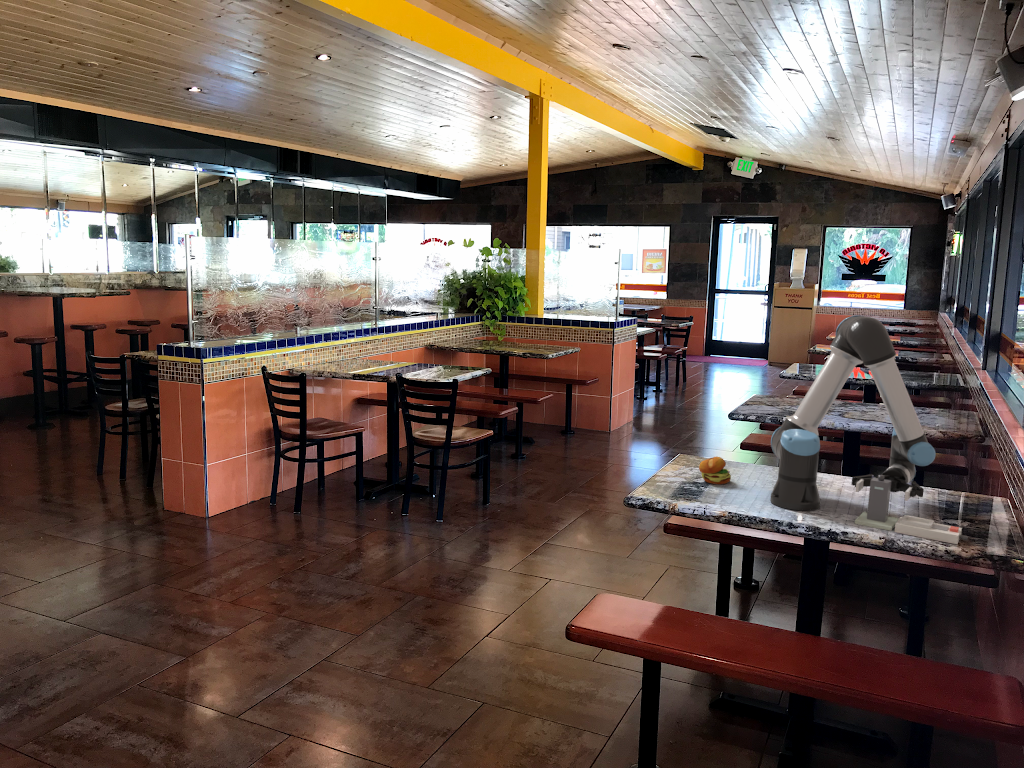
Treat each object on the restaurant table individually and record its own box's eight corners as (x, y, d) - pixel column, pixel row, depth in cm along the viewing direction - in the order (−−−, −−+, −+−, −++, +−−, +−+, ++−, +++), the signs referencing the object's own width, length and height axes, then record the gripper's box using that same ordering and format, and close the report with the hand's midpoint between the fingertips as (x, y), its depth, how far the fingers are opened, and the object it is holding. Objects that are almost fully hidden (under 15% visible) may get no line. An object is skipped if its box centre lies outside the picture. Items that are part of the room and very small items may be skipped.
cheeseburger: (738, 484, 276) (734, 457, 274) (710, 492, 274) (706, 465, 272) (723, 476, 286) (719, 450, 284) (697, 484, 284) (692, 458, 282)
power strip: (894, 532, 229) (895, 520, 228) (900, 524, 236) (901, 513, 236) (965, 545, 219) (966, 533, 218) (968, 537, 226) (970, 526, 225)
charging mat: (854, 523, 235) (854, 520, 235) (863, 514, 245) (863, 511, 245) (891, 530, 230) (891, 527, 230) (898, 521, 239) (898, 518, 239)
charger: (866, 519, 237) (871, 475, 235) (869, 516, 240) (873, 472, 239) (884, 522, 234) (889, 478, 232) (887, 519, 238) (891, 475, 236)
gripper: (937, 497, 246) (926, 512, 229) (853, 482, 261) (836, 496, 244) (940, 473, 245) (929, 487, 228) (855, 460, 260) (838, 472, 242)
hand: (881, 491), depth 236 cm, fingers open, 13 cm apart
